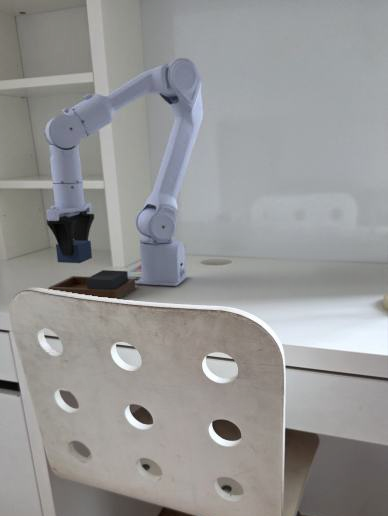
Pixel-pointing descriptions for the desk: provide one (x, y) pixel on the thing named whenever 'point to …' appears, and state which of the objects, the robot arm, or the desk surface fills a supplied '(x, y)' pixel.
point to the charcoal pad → (107, 280)
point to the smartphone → (135, 273)
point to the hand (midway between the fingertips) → (74, 252)
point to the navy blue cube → (76, 252)
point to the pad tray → (80, 286)
